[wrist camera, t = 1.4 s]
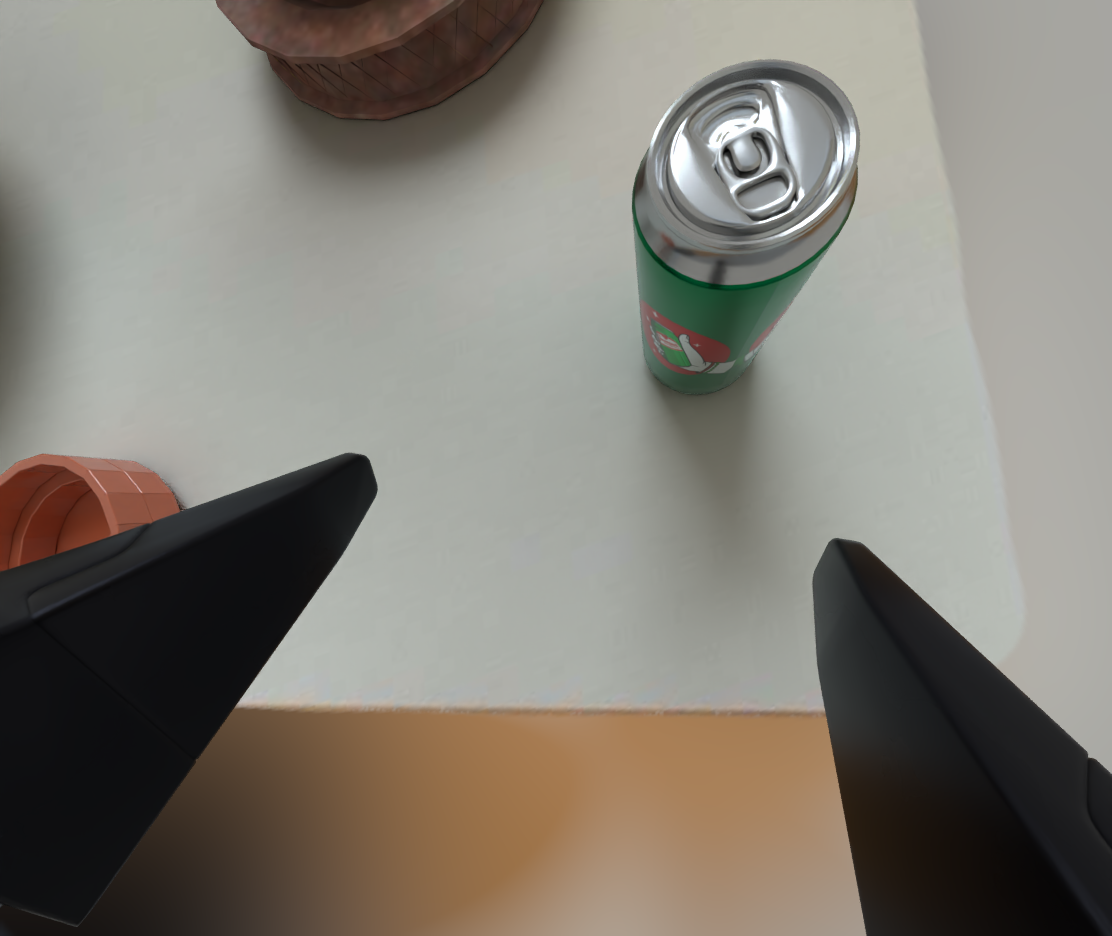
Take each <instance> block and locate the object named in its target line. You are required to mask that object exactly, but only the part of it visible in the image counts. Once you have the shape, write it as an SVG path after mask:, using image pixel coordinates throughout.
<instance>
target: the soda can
mask: <svg viewBox="0 0 1112 936" xmlns="http://www.w3.org/2000/svg"><path fill="white" fill-rule="evenodd" d="M859 150H860V131H859V126H858V121H857V117H856V114H855V112H854V109H853V107H852V104H851V103H850V101H849V100H848V98H847V97H846V95H845V94H844V92H843V91H842V90H841V89H840V88H839V87H838V86H837V85H836V84H835V83H834V82H833V81H832V80H831V79H829V78H828V77H826V76H825V75H824V74H822V73H821V72H819V71H817V70H814V69H812V68H810V67H808V66H806V65H802V64H798V63H795V62H791V61H783V60H755V61H748V62H742V63H739V64H735V65H732V66H729V67H726V68H723V69H721V70H719V71H717V72H714V73H712V74H710V75H708V76H707V77H705V78H703V79H702V80H700V81H698V82H697V83H695V84H694V85H693V86H692V87H690V88H689V89H688V90H687V91H685V92H684V93H683V94H682V95H681V96H680V97H679V98H678V99H677V100H676V101H675V102H674V103H673V104H672V106H671V107H670V108H669V110H668V111H667V112H666V114H665V115H664V116H663V118H662V120H661V121H660V123H659V125H658V127H657V129H656V131H655V133H654V136H653V139H652V141H651V144H650V147H649V148H648V150H647V152H646V154H645V156H644V157H643V159H642V161H641V164H640V166H639V169H638V172H637V174H636V177H635V182H634V187H633V194H632V214H633V227H634V239H635V252H636V265H637V277H638V290H639V303H640V315H641V328H642V341H643V351H644V356H645V360H646V363H647V365H648V367H649V369H650V370H651V372H652V373H653V375H654V376H655V377H656V378H657V379H658V380H659V381H660V382H661V383H663V384H664V385H666V386H667V387H669V388H671V389H673V390H675V391H678V392H681V393H686V394H707V393H712V392H715V391H718V390H720V389H723V388H725V387H727V386H728V385H730V384H731V383H733V382H734V381H735V380H737V379H738V378H739V377H740V376H741V375H742V374H743V372H744V371H745V370H746V369H747V367H748V366H749V364H750V363H751V362H752V360H753V359H754V357H755V356H756V354H757V353H758V351H759V350H760V348H761V347H762V346H763V344H764V343H765V341H766V340H767V338H768V337H769V335H770V334H771V332H772V331H773V329H774V328H775V327H776V325H777V324H778V322H779V321H780V319H781V318H782V316H783V315H784V313H785V312H786V311H787V309H788V308H789V306H790V305H791V303H792V302H793V300H794V299H795V297H796V296H797V295H798V293H799V292H800V290H801V289H802V287H803V286H804V284H805V283H806V281H807V280H808V278H809V277H810V276H811V274H812V273H813V271H814V270H815V268H816V267H817V265H818V264H819V262H820V261H821V260H822V258H823V257H824V255H825V254H826V252H827V251H828V249H829V248H830V246H831V245H832V244H833V242H834V241H835V239H836V238H837V236H838V235H839V233H840V231H841V230H842V228H843V226H844V224H845V223H846V221H847V219H848V217H849V214H850V212H851V209H852V206H853V204H854V201H855V195H856V190H857V185H858V167H857V160H858V155H859Z"/></svg>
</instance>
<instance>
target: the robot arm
mask: <svg viewBox="0 0 1112 936" xmlns="http://www.w3.org/2000/svg"><path fill="white" fill-rule="evenodd" d="M377 490H378V486H377V482H376V479H375V476H374V473H373V469H372V466H371V463H370V460H369V459H368V458H367V456H365V455H361V454H355V453H345V454H342V455H339V456H336V457H333V458H331V459H328V460H325V461H322V462H319V463H317V464H314V465H311V466H308V467H305V468H302V469H300V470H297V471H294V472H291V473H288V474H285V475H283V476H280V477H277V478H274V479H271V480H269V481H266V482H263V483H260V484H257V485H254V486H252V487H249V488H246V489H243V490H240V491H237V492H235V493H232V494H229V495H226V496H223V497H221V498H218V499H215V500H212V501H209V502H206V503H204V504H201V505H198V506H195V507H192V508H189V509H187V510H184V511H181V512H178V513H175V514H173V515H170V516H167V517H164V518H161V519H158V520H156V521H153V522H152V523H147V524H144V525H141V526H138V527H136V528H133V529H130V530H127V531H124V532H121V533H118V534H115V535H113V536H110V537H107V538H104V539H101V540H98V541H95V542H92V543H89V544H86V545H83V546H80V547H77V548H74V549H71V550H68V551H64V552H61V553H58V554H55V555H52V556H49V557H46V558H42V559H39V560H36V561H33V562H30V563H26V564H23V565H20V566H17V567H14V568H10V569H7V570H4V571H1V572H0V907H1V906H2V905H3V904H4V905H7V906H11V907H14V908H17V909H20V910H23V911H27V912H30V913H33V914H36V915H40V916H43V917H46V918H50V919H53V920H56V921H59V922H63V923H66V924H69V925H72V926H78V925H79V924H80V923H81V922H82V921H83V920H84V918H85V917H86V916H87V915H88V914H89V912H90V911H91V910H92V908H93V907H94V906H95V904H96V903H97V902H98V900H99V899H100V897H101V896H102V894H103V893H104V891H105V890H106V889H107V887H108V886H109V884H110V883H111V882H112V880H113V879H114V878H115V876H116V875H117V873H118V872H119V870H120V869H121V868H122V866H123V865H124V863H125V862H126V861H127V859H128V858H129V856H130V855H131V854H132V852H133V851H134V849H135V848H136V846H137V845H138V844H139V842H140V841H141V839H142V838H143V836H144V835H145V834H146V832H147V831H148V829H149V828H150V827H151V825H152V824H153V822H154V821H155V820H156V818H157V817H158V815H159V814H160V812H161V811H162V810H163V808H164V807H165V805H166V804H167V803H168V801H169V800H170V798H171V797H172V796H173V794H174V793H175V791H176V790H177V788H178V787H179V786H180V784H181V783H182V781H183V780H184V778H185V777H186V776H187V774H188V773H189V771H190V770H191V769H192V767H193V766H194V764H195V763H196V759H198V758H199V757H200V755H201V754H202V753H203V751H204V750H205V748H206V747H207V745H208V744H209V743H210V741H211V740H212V738H213V737H214V736H215V734H216V733H217V731H218V730H219V729H220V727H221V726H222V724H223V723H224V722H225V720H226V719H227V717H228V716H229V714H230V713H231V712H232V710H233V709H234V707H235V706H236V705H237V703H238V702H239V700H240V699H241V698H242V696H243V695H244V693H245V692H246V691H247V689H248V688H249V686H250V685H251V683H252V682H253V681H254V679H255V678H256V676H257V675H258V674H259V672H260V671H261V669H262V668H263V667H264V665H265V664H266V662H267V661H268V659H269V658H270V657H271V655H272V654H273V652H274V651H275V650H276V648H277V647H278V645H279V644H280V643H281V641H282V640H283V638H284V637H285V635H286V634H287V633H288V631H289V630H290V628H291V627H292V626H293V624H294V623H295V621H296V620H297V619H298V617H299V616H300V614H301V613H302V611H303V610H304V609H305V607H306V606H307V604H308V603H309V602H310V600H311V599H312V597H313V596H314V595H315V593H316V592H317V590H318V589H319V587H320V586H321V585H322V583H323V582H324V580H325V579H326V578H327V576H328V575H329V573H330V572H331V571H332V569H333V568H334V566H335V565H336V563H337V562H338V561H339V559H340V558H341V556H342V555H343V553H344V551H345V550H346V548H347V546H348V545H349V543H350V541H351V539H352V538H353V536H354V534H355V532H356V531H357V529H358V527H359V525H360V524H361V522H362V520H363V518H364V517H365V515H366V513H367V511H368V510H369V508H370V506H371V504H372V502H373V501H374V499H375V497H376V495H377ZM813 601H814V619H815V637H816V654H817V666H818V673H819V679H820V685H821V690H822V696H823V701H824V707H825V712H826V717H827V723H828V728H829V734H830V739H831V745H832V749H833V755H834V761H835V766H836V772H837V777H838V783H839V788H840V793H841V799H842V804H843V809H844V815H845V820H846V826H847V831H848V837H849V842H850V848H851V853H852V859H853V864H854V870H855V875H856V880H857V886H858V891H859V896H860V902H861V908H862V913H863V918H864V924H865V929H866V934H867V936H1112V774H1111V773H1110V772H1109V771H1108V770H1107V769H1105V768H1104V767H1103V766H1102V765H1101V764H1100V763H1099V762H1098V761H1097V760H1095V759H1093V758H1088V753H1087V751H1086V750H1085V749H1084V748H1083V747H1081V746H1080V745H1079V744H1078V743H1077V742H1076V741H1075V740H1074V739H1073V738H1072V737H1071V736H1070V735H1068V734H1067V733H1066V732H1065V731H1064V730H1063V729H1062V728H1061V727H1060V726H1059V725H1058V724H1057V723H1055V722H1054V721H1053V720H1052V719H1051V718H1050V717H1049V716H1048V715H1047V714H1046V713H1045V712H1044V711H1043V710H1042V709H1041V708H1039V707H1038V706H1037V705H1036V704H1035V703H1034V702H1033V701H1032V700H1030V698H1028V696H1027V695H1025V694H1024V693H1023V692H1022V691H1021V690H1020V689H1019V688H1018V687H1017V686H1015V684H1014V683H1013V682H1011V681H1010V680H1009V679H1008V678H1007V677H1006V676H1005V675H1004V674H1003V673H1002V672H1001V671H1000V670H998V669H997V668H996V667H995V666H994V665H993V664H992V663H991V662H990V661H989V660H988V659H987V658H986V657H984V656H983V655H982V654H981V653H980V652H979V651H978V650H977V649H976V648H975V647H974V646H973V645H972V644H970V643H969V642H968V641H967V640H966V639H965V638H964V637H963V636H962V635H961V634H960V633H959V632H958V631H956V630H955V629H954V628H953V627H952V626H951V625H950V624H949V623H948V622H947V621H946V620H945V619H944V618H942V617H941V616H940V615H939V614H938V613H937V612H936V611H935V610H934V609H933V608H932V607H931V606H929V605H928V604H927V603H926V602H925V601H924V600H923V599H922V598H921V597H920V596H919V595H918V594H917V593H915V592H914V591H913V590H912V589H911V588H910V587H909V586H908V585H907V584H906V583H905V582H904V581H903V580H901V579H900V578H899V577H898V576H897V575H896V574H895V573H894V572H893V571H892V570H891V569H890V568H889V567H887V566H886V565H885V564H884V563H883V562H882V561H881V560H880V559H879V558H878V557H877V556H876V555H875V554H873V553H872V552H871V551H870V550H869V549H868V548H867V547H866V546H865V545H863V544H862V543H860V542H857V541H852V540H846V539H840V538H834V539H832V540H831V541H830V542H829V543H828V545H827V547H826V549H825V551H824V553H823V555H822V557H821V559H820V561H819V563H818V565H817V567H816V569H815V571H814V574H813Z"/></svg>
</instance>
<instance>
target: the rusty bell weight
mask: <svg viewBox="0 0 1112 936" xmlns="http://www.w3.org/2000/svg"><path fill="white" fill-rule="evenodd" d="M542 2H543V0H216V3H217V7H218V8H219V9H220V10H221V11H222V12H223V13H224V15H225V16H226V17H227V18H228V19H229V20H230V21H231V23H232V24H233V25H234V26H235V27H236V28H237V29H238V30H239V32H240V33H241V34H242V35H243V36H244V37H245V38H246V40H247V41H248V42H249V43H250V44H251V45H252V46H253V47H256V48H258V49H260V50H263V51H265V52H266V53H267V56H268V59H269V62H270V64H271V67H272V69H273V71H274V72H275V73H276V74H277V75H278V76H279V77H280V79H281V80H282V81H283V82H284V83H285V84H286V85H287V86H288V88H289V89H290V90H291V91H292V92H293V93H294V94H295V95H296V97H297V98H298V99H299V100H301V101H303V102H305V103H307V104H310V105H312V106H314V107H316V108H318V109H321V110H323V111H325V112H327V113H329V114H332V115H334V116H336V117H338V118H351V119H376V120H387V119H390V118H393V117H397V116H400V115H404V114H407V113H410V112H414V111H417V110H421V109H424V108H427V107H431V106H434V105H437V104H438V103H440V102H441V101H443V100H444V99H446V98H448V97H449V96H451V95H452V94H454V93H456V92H457V91H459V90H460V89H462V88H463V87H465V86H467V85H468V84H470V83H471V82H473V81H475V80H476V79H478V78H479V77H481V76H482V75H484V74H485V73H486V72H487V71H488V70H489V69H490V68H491V67H492V66H493V65H494V64H495V63H496V62H497V61H498V60H499V59H500V58H501V56H502V55H503V54H504V53H505V52H506V51H507V50H508V49H509V48H510V47H511V46H512V45H513V44H514V43H515V42H516V41H517V40H518V38H519V37H520V36H521V35H522V34H523V33H524V32H525V31H526V30H527V29H528V27H529V25H530V24H531V22H532V20H533V18H534V16H535V15H536V13H537V11H538V9H539V7H540V6H541V4H542Z"/></svg>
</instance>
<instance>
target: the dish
mask: <svg viewBox="0 0 1112 936" xmlns="http://www.w3.org/2000/svg"><path fill="white" fill-rule="evenodd" d="M178 512H180V509H179V507H178V504H177V501H176V499H175V496H174V494H173V493H172V492H171V490H170V489H169V488H168V487H167V486H166V484H165V483H164V482H163V481H162V479H161V478H160V477H159V476H158V475H157V474H156V473H155V472H153V471H151V470H149V469H148V468H146V467H144V466H142V465H140V464H139V463H137V462H134V461H126V460H116V459H105V458H92V457H79V456H66V455H53V454H40V455H37V456H34V457H31V458H28V459H25V460H22V461H19V462H17V463H15V464H14V465H13V466H12V467H10V468H9V469H8V470H7V471H5V472H4V473H3V474H2V475H0V572H1V571H4V570H7V569H10V568H14V567H17V566H20V565H23V564H26V563H30V562H33V561H36V560H39V559H42V558H46V557H49V556H52V555H55V554H58V553H61V552H64V551H68V550H71V549H74V548H77V547H80V546H83V545H86V544H89V543H92V542H95V541H98V540H101V539H104V538H107V537H110V536H113V535H115V534H118V533H121V532H124V531H127V530H130V529H133V528H136V527H138V526H141V525H144V524H147V523H152V522H153V521H156V520H158V519H161V518H164V517H167V516H170V515H173V514H175V513H178Z"/></svg>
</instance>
